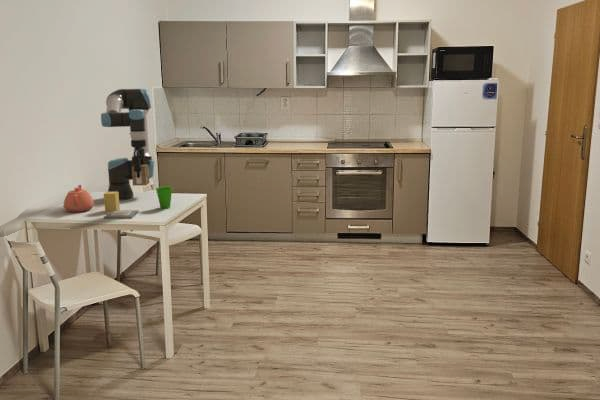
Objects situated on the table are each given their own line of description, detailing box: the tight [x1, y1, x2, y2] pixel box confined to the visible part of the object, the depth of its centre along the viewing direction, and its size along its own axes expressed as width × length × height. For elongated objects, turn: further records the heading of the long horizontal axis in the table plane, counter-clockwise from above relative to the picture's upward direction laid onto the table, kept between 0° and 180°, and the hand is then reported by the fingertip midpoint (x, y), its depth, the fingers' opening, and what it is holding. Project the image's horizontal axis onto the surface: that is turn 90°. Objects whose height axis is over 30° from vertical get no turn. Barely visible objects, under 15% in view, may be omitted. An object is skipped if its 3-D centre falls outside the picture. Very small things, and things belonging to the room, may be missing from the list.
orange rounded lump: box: [63, 184, 95, 213], centre depth 296 cm, size 22×15×12 cm
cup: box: [155, 186, 174, 210], centre depth 300 cm, size 9×9×11 cm
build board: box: [103, 209, 140, 220], centre depth 284 cm, size 14×14×1 cm
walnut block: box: [132, 165, 150, 186], centre depth 292 cm, size 7×7×10 cm
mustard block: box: [103, 191, 121, 213], centre depth 293 cm, size 6×6×10 cm
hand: (141, 182), depth 293 cm, fingers closed on walnut block, 7 cm apart
